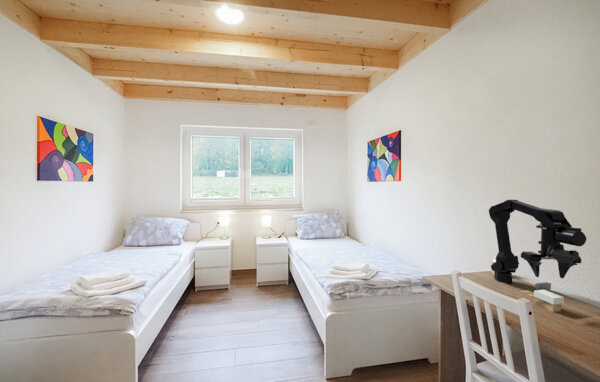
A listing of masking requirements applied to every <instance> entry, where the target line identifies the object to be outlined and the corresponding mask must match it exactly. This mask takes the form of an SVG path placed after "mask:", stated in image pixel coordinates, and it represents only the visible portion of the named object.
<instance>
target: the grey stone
mask: <svg viewBox="0 0 600 382" xmlns="http://www.w3.org/2000/svg"><path fill="white" fill-rule="evenodd" d="M534 286H535V287H534V291H535V290H546V291H549V290H552V283H550V282H548V281H547V282H546V281H545V282H537V283H535V284H534Z"/></svg>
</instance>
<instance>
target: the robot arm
mask: <svg viewBox="0 0 600 382" xmlns="http://www.w3.org/2000/svg"><path fill="white" fill-rule="evenodd" d="M515 211H517V212H520V213H523V214H526V215H528V216H530V217H533V218H534V219H535V220H536V221H537V222H539V224H538V225H536V226H535V228H536V229H541V230H540V231H541V232H540V233H541V234H540V240H538V242H537V243H538V245H540V250H538V251H537V253H536V252H534V251H524V250H523V251H522V252H521V253H520V258H521V259H523V260H524V261H526V262H527V264H528V265H529V266H530V268H531V270H532V272H533V274H534V275H535V277H537V278H539V277H540V266H541V265H542V264H543V262H541V261H542V260H554V261H556V262H557V265H558V266H557V267H558V274H559V278H560V279H565V276H566V275H567V273H568V271H569V270H570V269H571V267H574V266H577V265H578V264H582V258H581V256H580V252H579V251H577V250H572V249H571V250H568V249H567V250H566V249H565V246H564V244H566V245H570V246H575V247H582V246H584V245H585V244H586V242H587V236H586V234H585V233H584V232H582V228H580V227H573V226H572V224H571V223H570V222H569V221H568V219H567V218H566V215H565V214H564V212H563V211H562V210H557V209H550V208H541V207H538V206H535V205H533V204H530V203H526V202H522V201H520V200H518V199H507V200H505V201H502V202H500V203H498V204H495V205H492V206H490V208H489V209H488V214H489V218H490V220H491V221H492V222H493V223H494V226H495V233H496V240H497V248H498V252H497V254H496V255H495V256H496V262H495V263H494V264H492V263H491V265H490V268H491V271H492V270H493V271H495V274H494V275H493V276H494V280H495V281H497V282H498V283H502V284H507V285H512V284H513V275H512V274H514V273H516V272H517V269H519V265H520V262H519V256H518V255H515V254H514V253H513V252H512V246H511V240H510V233H509V225H508V223H509V220H510V218H511V214H512V213H513V212H515Z"/></svg>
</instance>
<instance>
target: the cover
mask: <svg viewBox="0 0 600 382" xmlns="http://www.w3.org/2000/svg"><path fill="white" fill-rule="evenodd" d="M533 292H534V296H533V297H534V298H536V297H537V298H539V299H542V300H544V301H546V302H549V303H551V304H560V303H562V304H564V302H565V300H564V299H565V297H564V296H562V295H559V294H557V293H554V292H553V291H549V290H547V291H546V290H535V289H534V291H533Z"/></svg>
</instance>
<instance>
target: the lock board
mask: <svg viewBox="0 0 600 382" xmlns="http://www.w3.org/2000/svg"><path fill="white" fill-rule="evenodd" d="M519 292H521V293H523V294H525V295H527V296H530V297H534V291H531V290H528V289H527V290H520V291H519ZM534 302H535V303H534V304H535V305H536V306H537V307H540V308H543V309H545V310H548V311H550V312H552V313H555V312H561V311H562V304H563V303H560V304H551V303H549V302H546V301H544V300H542V299H539V298H537V297H535V301H534Z"/></svg>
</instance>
